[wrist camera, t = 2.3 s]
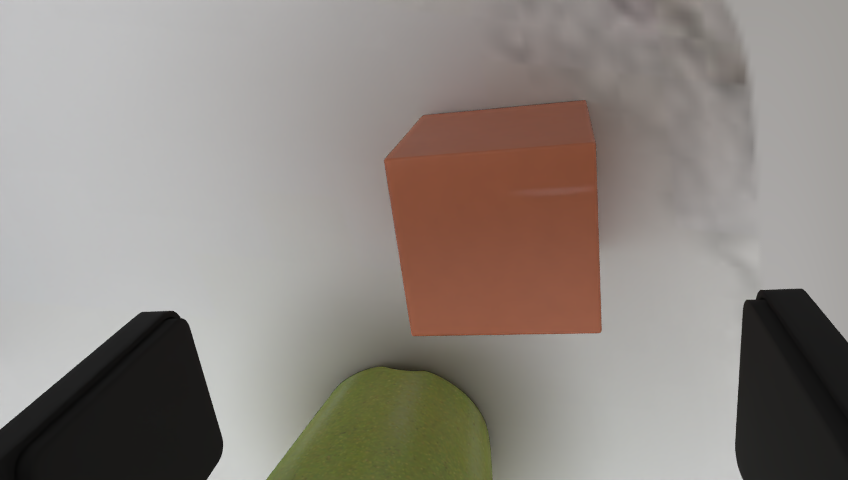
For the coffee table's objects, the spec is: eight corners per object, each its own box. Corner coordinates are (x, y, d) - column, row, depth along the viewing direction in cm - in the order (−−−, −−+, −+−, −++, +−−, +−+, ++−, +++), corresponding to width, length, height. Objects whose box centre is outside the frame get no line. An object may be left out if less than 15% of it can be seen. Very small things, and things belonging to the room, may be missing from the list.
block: (421, 115, 18) (383, 159, 14) (586, 99, 17) (596, 142, 13) (440, 260, 20) (411, 337, 16) (591, 253, 19) (601, 333, 15)
